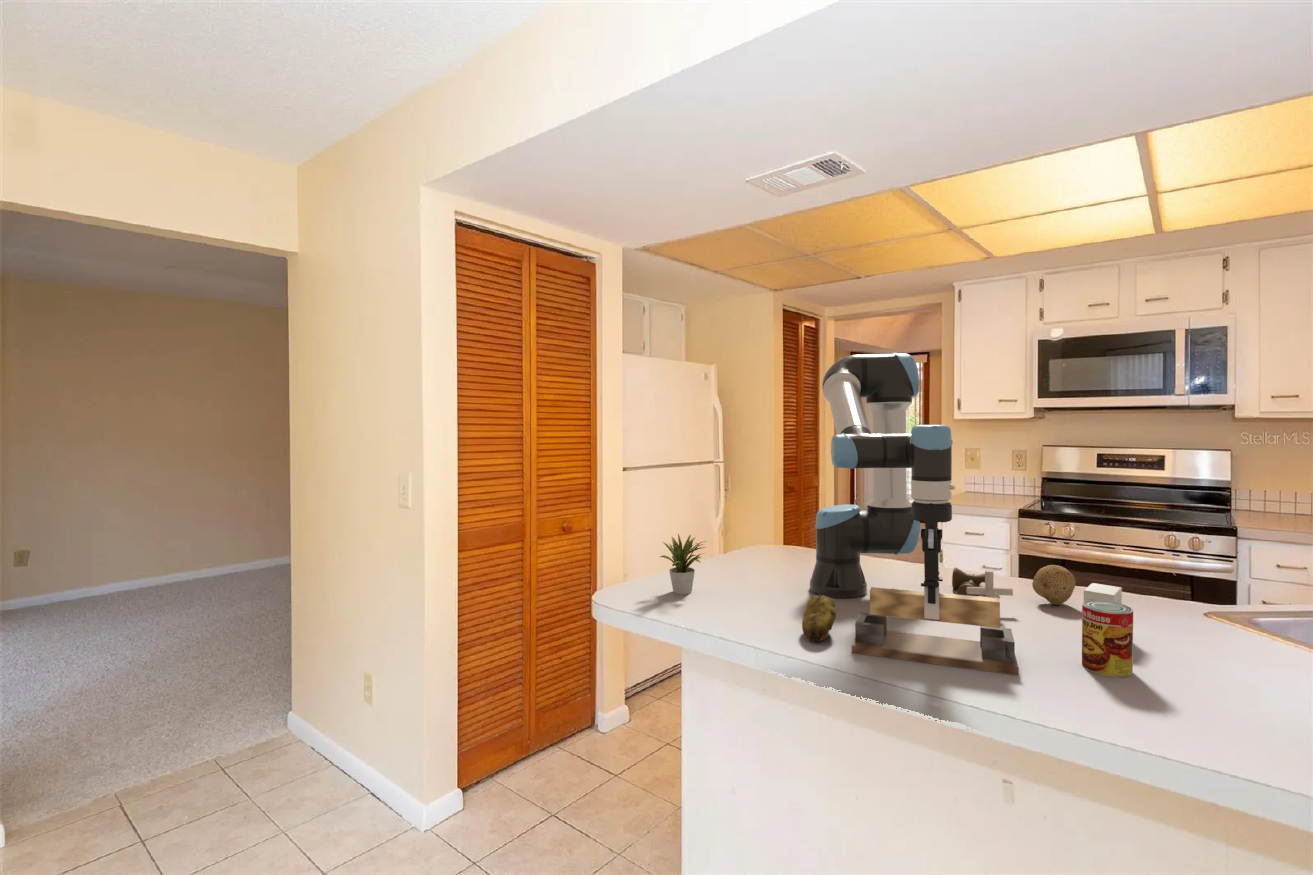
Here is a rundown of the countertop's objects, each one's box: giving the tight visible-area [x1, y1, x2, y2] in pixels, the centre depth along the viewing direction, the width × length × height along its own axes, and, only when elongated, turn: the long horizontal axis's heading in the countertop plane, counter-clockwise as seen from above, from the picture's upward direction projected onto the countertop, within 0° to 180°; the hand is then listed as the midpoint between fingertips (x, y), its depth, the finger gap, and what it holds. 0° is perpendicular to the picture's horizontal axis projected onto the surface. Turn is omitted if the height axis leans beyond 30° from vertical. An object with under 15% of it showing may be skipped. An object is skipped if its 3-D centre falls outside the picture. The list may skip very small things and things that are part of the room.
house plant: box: [659, 533, 707, 596], centre depth 176 cm, size 14×14×16 cm
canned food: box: [1081, 600, 1134, 678], centre depth 121 cm, size 8×8×12 cm
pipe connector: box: [966, 569, 1014, 600], centre depth 155 cm, size 10×10×10 cm
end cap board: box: [851, 612, 1020, 676], centre depth 130 cm, size 30×12×6 cm, turn 65°
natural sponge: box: [1031, 564, 1076, 606], centre depth 160 cm, size 9×9×10 cm
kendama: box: [951, 567, 985, 597], centre depth 171 cm, size 6×10×20 cm
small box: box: [1083, 582, 1123, 604], centre depth 138 cm, size 8×6×10 cm
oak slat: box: [869, 586, 1001, 628], centre depth 130 cm, size 24×3×5 cm, turn 65°
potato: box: [801, 594, 837, 643], centre depth 142 cm, size 8×13×8 cm, turn 140°
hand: (932, 615), depth 130 cm, fingers closed on oak slat, 3 cm apart
